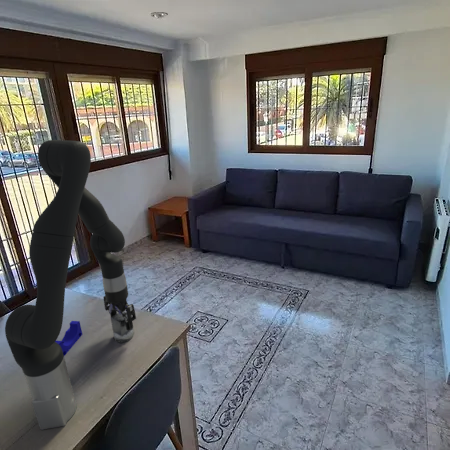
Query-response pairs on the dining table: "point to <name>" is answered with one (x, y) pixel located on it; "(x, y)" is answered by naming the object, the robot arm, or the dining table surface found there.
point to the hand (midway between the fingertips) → (122, 324)
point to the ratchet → (125, 337)
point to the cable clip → (70, 336)
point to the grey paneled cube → (119, 324)
